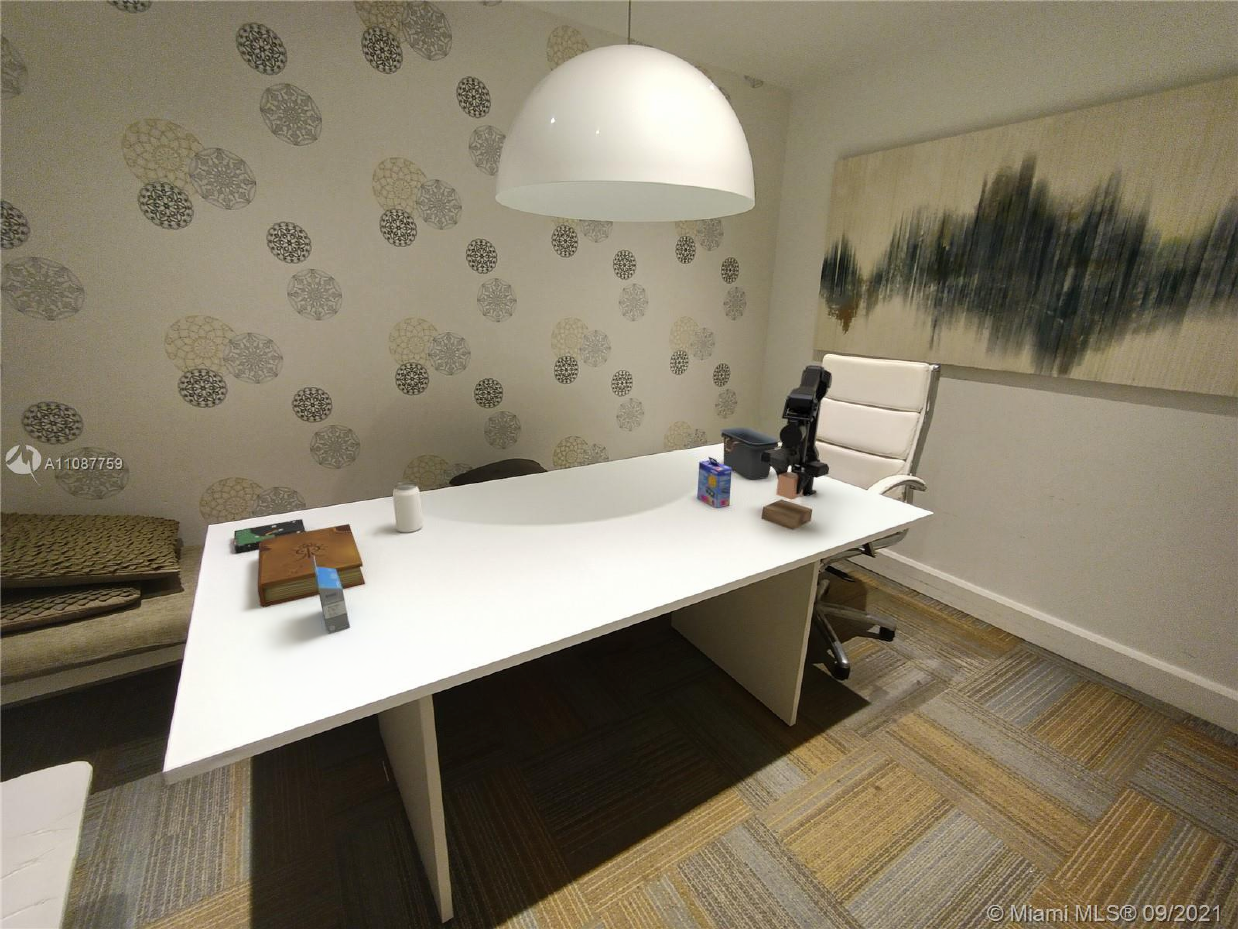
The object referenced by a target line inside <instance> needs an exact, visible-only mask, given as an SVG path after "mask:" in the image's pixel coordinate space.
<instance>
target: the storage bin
mask: <svg viewBox="0 0 1238 929" xmlns="http://www.w3.org/2000/svg"><path fill="white" fill-rule="evenodd" d="M720 432H721V434H720V437H722V438H723V465H726V466H728V467H730V468H732V471H733V472H735V473H736V474H738V475H740V476H742V477H744V478H746V479H748V480H758V479H765V478H766V479H767V478H768V477H769V476H770V473H771V472H770V471H771V468H772V467H771V466H769V464H771V462H769V463H766V462H763V461H760V457H761V454H762V452H763V451H767V450H771V449H774V450H776V449H775V448H778V447H779V442H781V440H780V438H779V439H778V438H776V437H774V436H771V435H768V434H765V433H764V432H760V431H758V430H755V429H753V428H750V427H745V426H744V427H742V426H741V427H739V426H738V427H729V428H722V429H720Z"/></svg>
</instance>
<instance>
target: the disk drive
mask: <svg viewBox="0 0 1238 929" xmlns="http://www.w3.org/2000/svg"><path fill="white" fill-rule="evenodd" d="M306 531H307V530H306V529H305V525H304V520H303V519H302V518H300V519H293V520H288V521H284V522H283V521H281V522H277V523H272V524H267V525H258V526H254V527H249V528H243V529H237V530H234V533H233V536H234V537H233V539H234V540H233V541H234V542H233V543H234V544H233V548H234V553H235V555H240V554H244V553H250V552H255V551H259V543H260V542H261V541H262V539H267V538H272V537H278V536H284V535H289V534H295V533H301V532H306Z"/></svg>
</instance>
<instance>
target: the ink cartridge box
mask: <svg viewBox="0 0 1238 929" xmlns="http://www.w3.org/2000/svg"><path fill="white" fill-rule="evenodd" d="M708 459H709V460H703V461H702V460H701V461H699V462H698V478H697V480H698V481H697V496H696V498H697V499H698V500H700V501H702V502H703V503H706V504H708V505H710V506H711V507H713V508H715V509H718V508H724V507H728V506H730V503H731V502H730V500H731V486H732V474H733V473H732V468H730V467H728V466H726V465H724V463H723V464H722V463H720V462H719V461H718V460H717V459H715V458H714V457H710V456H708Z"/></svg>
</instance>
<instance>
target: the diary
mask: <svg viewBox="0 0 1238 929" xmlns="http://www.w3.org/2000/svg"><path fill="white" fill-rule="evenodd" d="M305 531H306V532H301V533H295V534H289V535H284V536H278V537H272V538H267V539H262V541H261V542H260V543H259V550H258V559H257V560H258V562H257V563H258V564H257V584H256V589H257V595H258V599H259V604H260V606H261V607H262V608H267V607H268V608H269V607H271V606H276V605H281V604H285V603H289V602H293V601H298V600H302V599H306V598H311V597H315V596H319V591H318V586H317V581H316V576H315V571H314V555H315V562H316V567H323V568H331V569H336V570H337V573H338V576H339V579H340V582H341V585H342V589H343V590H346V589H351V588H355V587H360V586H363V585H364V586H365V585H366V581H365V578H364V575H363V573H362V572H363V571H362V570H361V568H362V567H364V566H363V560H362V558H361V554H360V551H359V549H358V546H357V543H356V540H355V536H354V534H353V531H352V528H351V524H350V523H348V524H347V523H346V524H340V525H337V526H336V525H335V526H330V527H325V528H318V529H313V530H308V531H307V530H305Z"/></svg>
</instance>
